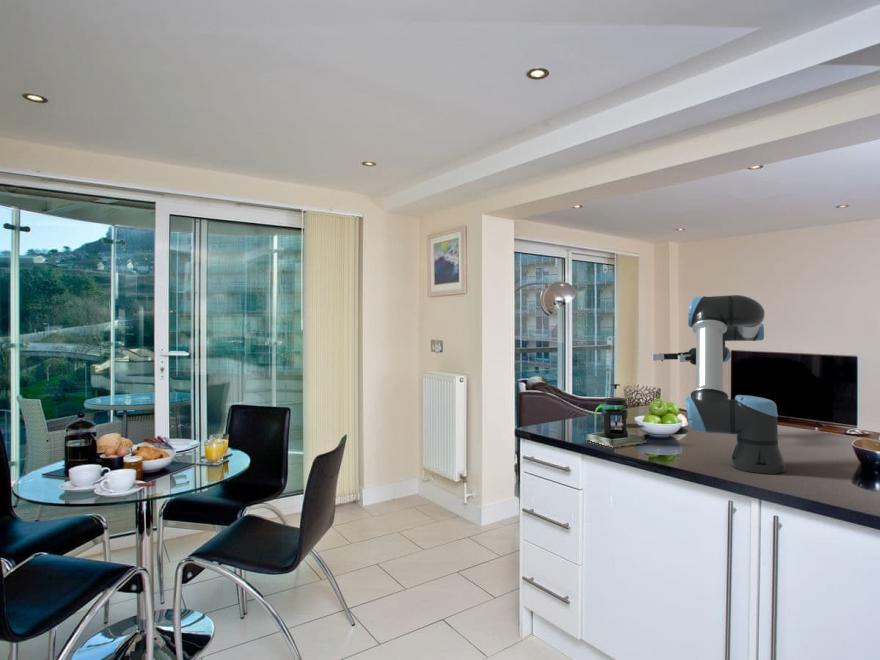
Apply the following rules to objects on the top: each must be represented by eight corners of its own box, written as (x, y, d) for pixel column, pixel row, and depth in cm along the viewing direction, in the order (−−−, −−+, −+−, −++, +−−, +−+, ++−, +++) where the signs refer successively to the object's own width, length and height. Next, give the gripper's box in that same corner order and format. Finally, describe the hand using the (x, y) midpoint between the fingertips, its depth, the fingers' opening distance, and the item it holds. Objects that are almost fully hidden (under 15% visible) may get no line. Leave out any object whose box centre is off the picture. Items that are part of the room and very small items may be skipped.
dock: (646, 443, 206) (646, 436, 206) (612, 448, 199) (612, 440, 199) (617, 436, 221) (617, 429, 221) (585, 440, 213) (584, 433, 213)
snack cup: (597, 428, 241) (596, 406, 241) (592, 423, 251) (592, 403, 251) (631, 427, 239) (630, 406, 239) (625, 423, 250) (624, 402, 250)
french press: (616, 436, 217) (615, 382, 217) (634, 440, 208) (633, 383, 208) (596, 439, 211) (595, 384, 211) (614, 443, 203) (613, 386, 203)
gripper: (727, 366, 211) (690, 368, 202) (676, 363, 234) (642, 365, 225) (726, 347, 211) (690, 349, 202) (676, 346, 234) (642, 348, 225)
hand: (665, 358), depth 214 cm, fingers open, 13 cm apart
